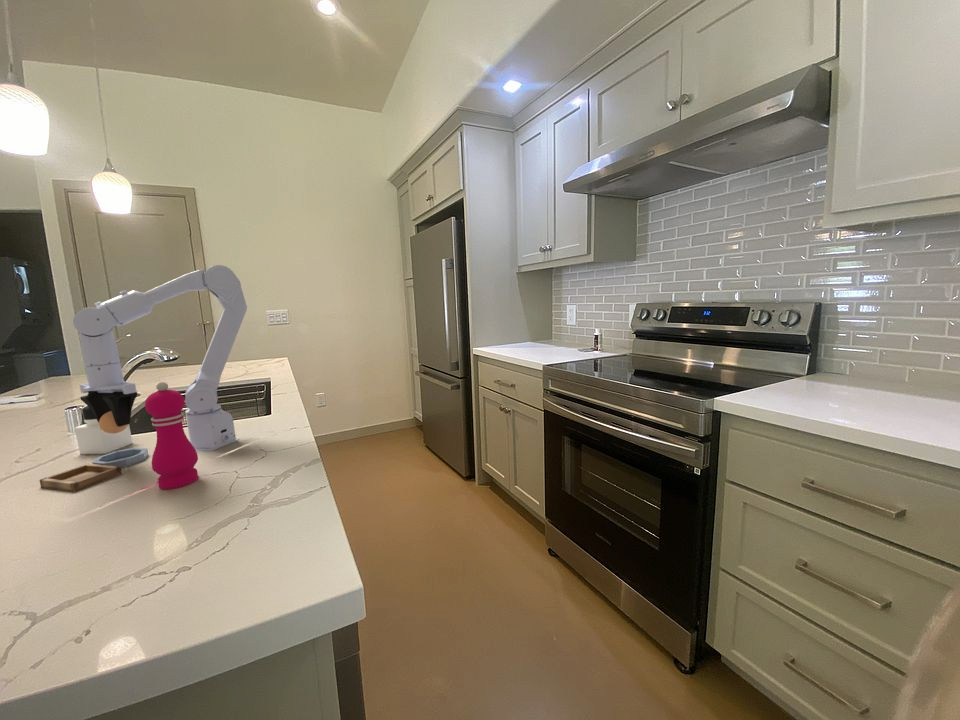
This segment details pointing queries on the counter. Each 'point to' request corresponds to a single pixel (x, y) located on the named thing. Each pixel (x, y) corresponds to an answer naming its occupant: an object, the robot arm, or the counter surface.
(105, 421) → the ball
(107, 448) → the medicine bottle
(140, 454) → the ramekin
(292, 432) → the counter surface
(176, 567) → the counter surface
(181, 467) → the pepper mill
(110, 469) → the tray
